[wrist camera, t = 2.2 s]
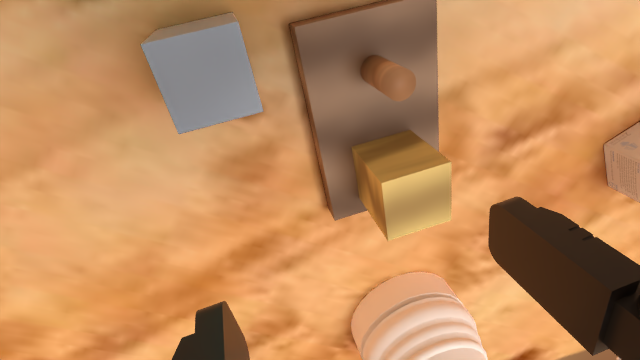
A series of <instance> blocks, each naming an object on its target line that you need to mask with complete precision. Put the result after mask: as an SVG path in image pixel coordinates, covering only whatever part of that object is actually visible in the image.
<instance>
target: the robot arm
mask: <svg viewBox="0 0 640 360" xmlns="http://www.w3.org/2000/svg"><path fill="white" fill-rule="evenodd" d="M489 249H490V252H491V254H492V256H493V258H494V259H495V261H496V262H497V263H498V264H499V265H500V266H501V267H502V268H503V269H504V270H505V271H506V272H507V273H508V274H509V275H510V276H511V277H512V278H513V279H514V280H515V281H516V282H517V283H518V284H519V285H520V286H521V287H522V288H523V289H524V290H525V291H526V292H528V293H529V294H530V295H531V296H532V297H533V298H534V299H535V300H536V301H537V302H538V303H539V304H540V305H541V306H542V307H543V308H544V309H545V310H546V311H547V312H548V313H549V314H550V315H551V316H552V317H553V318H554V319H555V320H556V321H557V322H558V323H559V324H560V325H561V326H563V327H564V328H565V329H566V330H567V331H568V332H569V333H570V334H571V335H572V336H573V337H574V338H575V339H576V340H577V341H578V342H579V343H580V344H581V345H582V346H583V347H584V348H585V349H586V350H587V351H588V352H589V353H590V354H591V355H592V356H593V355H595V354H598V353H600V352H602V351H605V350H606V349H610V350H611V351H613V352H614V353H615V354H616V355H617V358H616V360H640V265H638V264H637V263H635V262H634V261H632V260H631V259H629V258H628V257H626V256H625V255H623V254H622V253H620V252H619V251H617V250H616V249H614V248H612V247H611V246H609V245H608V244H606V243H605V242H603V241H602V240H600V239H599V238H597V237H593V234H591V233H590V232H588V231H587V230H585V229H584V228H580V227H579V225H577V224H576V223H574V222H573V221H571V220H570V219H568V218H567V217H565V216H564V215H562V214H560V213H557V212H554V211H551V210H548V209H545V208H543V207H539V208H536V207H534V206H533V205H531V204H530V203H529V202H527V201H526V200H524V199H522V198H520V197H514V198H511V199H508V200H505V201H503V202H500V203H497V204H494V205H492V206H491V208H490V216H489ZM172 360H250V358H249V352H248V347H247V344H246V341H245V338H244V335H243V333H242V331H241V329H240V327H239V326H238V324H237V322H236V320H235V318H234V316H233V314H232V312H231V310H230V308H229V306H228V304H227V303H226V302H225V301H223V302H220V303H217V304H214V305H212V306H209V307H206V308H203V309H201V310H198V311H197V312H196V318H195V333H194V334H191V335H189V336H186V337H183V338H182V339H181V341H180V343H179V345H178V347H177V349H176V351H175V354H174V356H173V358H172Z"/></svg>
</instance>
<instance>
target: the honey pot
mask: <svg viewBox="0 0 640 360" xmlns="http://www.w3.org/2000/svg"><path fill="white" fill-rule="evenodd" d="M351 331H352V335H353V338H354V340H355V343H356V345H357V348H358V350H359V353H360V355H361V358H362V359H363V360H488V359H487V354H486V351H485V350H484V348H483V347H482V344H481V339H480V337H479V335H478V334H477V327H476V323H475V321H474V319H473V317H472V316H471V314H470V313H469V312H468V310H467V309H466V308H465V307H464V305H463V304H462V302H461V301H460V300H459V299H458V297H457V296H456V295H455V293H454V292H453V291H452V289H451V288H450V287H449V285H448V284H447V283H446V282H445V281H444V279H443V278H441V277H439V276H437V275H435V274H433V273H427V272H411V273H406V274H403V275H399V276H395V277H393V278H391V279H389V280H387V281H385V282H383V283H381V284H380V285H379V286H377V287H376V288H374V289H373V290H372V291H370V292H369V293H368V294H367V295H366V296H365V297H364V299H363V300H362V301H361V302H360V303H359V305H358V306H357V308H356V310H355V312H354V313H353V317H352V321H351Z"/></svg>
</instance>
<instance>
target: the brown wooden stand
mask: <svg viewBox="0 0 640 360" xmlns="http://www.w3.org/2000/svg"><path fill="white" fill-rule="evenodd" d="M289 26H290V31H291V36H292V40H293V45H294V50H295V54H296V59H297V63H298V68H299V73H300V77H301V82H302V87H303V91H304V96H305V101H306V105H307V110H308V115H309V119H310V124H311V129H312V133H313V138H314V143H315V147H316V152H317V157H318V161H319V166H320V171H321V175H322V180H323V185H324V189H325V194H326V198H327V203H328V208H329V210H330V212H331V214H332V216H333V218H334V220H338V219H341V218H345V217H348V216H351V215H354V214H357V213H360V212H364V211H367V210H368V212H369V213H370V215H371V216H372V218H373V219H374V221H375V222H376V224H377V225H378V227H379V228H380V230H381V231H382V233H383V234H384V236H385V237H386V239H387V240H388V241H390V240H393V239H396V238H399V237H402V236H405V235H408V234H411V233H414V232H417V231H420V230H423V229H426V228H429V227H432V226H436V225H439V224H442V223H445V222H448V221H451V161H450V160H449V159H447V158H446V157H445V156H443V155H442V154H441V153H440V152H439V128H438V68H437V8H436V0H385V1H381V2H377V3H373V4H368V5H364V6H360V7H356V8H352V9H348V10H344V11H339V12H335V13H331V14H327V15H323V16H319V17H315V18H310V19H306V20H302V21H298V22H294V23H290V24H289Z"/></svg>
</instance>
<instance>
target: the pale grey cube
mask: <svg viewBox="0 0 640 360" xmlns="http://www.w3.org/2000/svg"><path fill="white" fill-rule="evenodd" d="M140 45H141V47H142V49H143V52H144V54H145V56H146V59H147V61H148V63H149V66H150V68H151V70H152V73H153V75H154V78H155V80H156V82H157V85H158V87H159V89H160V92H161V94H162V96H163V99H164V101H165V103H166V106H167V108H168V110H169V113H170V115H171V117H172V120H173V122H174V124H175V127H176V129H177V132H178V134H182V133H186V132H189V131H193V130H197V129H200V128H204V127H208V126H211V125H215V124H219V123H223V122H226V121H230V120H234V119H237V118H241V117H245V116H249V115H252V114H256V113H260V112H263V108H262V104H261V101H260V97H259V94H258V90H257V87H256V83H255V80H254V76H253V72H252V69H251V65H250V62H249V58H248V55H247V51H246V48H245V44H244V41H243V37H242V33H241V30H240V26H239V23H238V20H237V19H236V17H235V15H234V14H233V12H230V13H226V14H221V15H217V16H213V17H209V18H204V19H200V20H196V21H191V22H187V23H183V24H178V25H174V26H170V27H166V28H161V29H157V30H155V31H154V32H153V33H152V34H151V35H150V36H149V37H148V38H147V39H146V40H145V41H144V42H143V43H141V44H140Z"/></svg>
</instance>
